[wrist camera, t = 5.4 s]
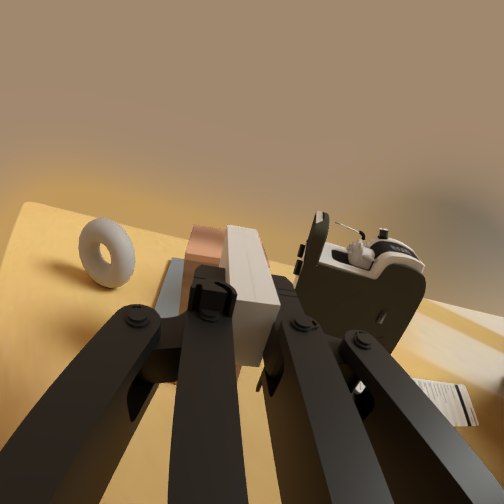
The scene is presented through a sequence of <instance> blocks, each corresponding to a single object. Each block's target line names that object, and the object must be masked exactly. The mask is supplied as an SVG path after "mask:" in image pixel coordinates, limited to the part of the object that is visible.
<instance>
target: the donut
mask: <svg viewBox="0 0 504 504" xmlns="http://www.w3.org/2000/svg"><path fill="white" fill-rule="evenodd" d="M100 243H102V244H104V245H105V246H106V247H107V249H108V250H109V252H110V255H111V264H109V263H107V262H106V261H105V260H104V258H103V257H102V255H101V252H100ZM79 255H80V259H81V262H82V265H83V267H84V268H85V270H86V272H87V273H88V275H89V276H90V277H91V278H92V279H93V280H94V281H95V282H97V283H99V284H100V285H102V286H105V287H108V288H115V287H120V286H122V285H123V284H125V283H126V282H128V280H129V279H130V277H131V276H132V274H133V272H134V266H135V251H134V248H133V245H132V242H131V240H130V238H129V236H128V235H127V233H126V231H125V230H124V229H123V228H122V227H121V226H120V225H119V224H118V223H116V222H114V221H112V220H110V219H104V218H98V219H95V220H92V221H90V222H89V223H88V224H87V225H86V226H85V227H84V228H83V230H82V232H81V235H80V237H79Z"/></svg>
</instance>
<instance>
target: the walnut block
mask: <svg viewBox="0 0 504 504" xmlns="http://www.w3.org/2000/svg"><path fill="white" fill-rule="evenodd" d="M225 234H226V230H224V229H218V228H212V227H205V226H200V225H194V226H193V229H192V232H191V235H190V239H189V242H188V245H187V249H186V252H185V259H184V267H183V276H182V286H181V296H180V307H179V315H181V314H182V313H184V312H185V311H186V310H187V308H188V300H189V293H190V287H191V285H192V283H193V278H194V272H195V269H196V268H197V267H198V266H200V265H201V264H203V265H209V266H215V267H219V263H220V258H221V253H222V248H223V243H224V238H225ZM258 236H259V235H258ZM259 239H260V242H261V245H262V248H263V251H264V254H265V257H266V260H267V264H268V267H270V265H269V262H268V259H267V256H266V253H265V250H264V247H263V244H262V241H261V238H260V236H259ZM235 367H236V379H237V380H238V377H239V373H240V370H241V367H242V366H241V365H235ZM175 385H177V381H175Z"/></svg>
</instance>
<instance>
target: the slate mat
mask: <svg viewBox="0 0 504 504" xmlns="http://www.w3.org/2000/svg"><path fill="white" fill-rule="evenodd" d="M183 267H184V259H180V258H173V257H172V260H171V263H170V266H169V268H168V271H167V274H166V277H165V280H164V282H163V285H162V288H161V291H160V294H159V297H158V300H157V303H156V306H155V309H154V310H156V312H157V313H158V314H159V315H160V318H169V317H175V316H178V315H179V307H180V296H181V286H182V276H183Z"/></svg>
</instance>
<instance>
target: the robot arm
mask: <svg viewBox="0 0 504 504" xmlns="http://www.w3.org/2000/svg"><path fill="white" fill-rule="evenodd" d="M297 297H298V296H297V294H296V292H295V289H294V287H293V284H292V283H291V282H290V281H289V280H288V279H287V278H286V277H284V276H278V275H271V273H270V270H269V267H268V264H267V260H266V257H265V254H264V251H263V248H262V245H261V242H260V239H259V236H258V233H257V230H255V229H250V228H244V227H239V226H233V225H227V229H226V234H225V238H224V243H223V248H222V253H221V258H220V263H219V267H215V266H209V265H203V264H201V265H200V266H198V267H197V268H196V269H195V272H194V278H193V283H192V285H191V287H190V293H189V300H188V308H187V310H186V311H185V312H184V313H182V314H181V315H178V316H175V317H169V318H160V315H159V314H158V313H157V312H156V310H154V309H152V308H150V307H148V306H145V305H140V304H133V305H128V306H124V307H122V308H121V309H119V310H118V311H117V312H116V313H115V314H114V315H113V316H112V317H111V318H110V319H109V320H108V321H107V322H106V324H105V325H104V326H103V327H102V328H101V329H100V330H99V331H98V332H97V333H96V334H95V336H94V337H93V338H92V339H91V340H90V341H89V342H88V343H87V344H86V345H85V347H84V348H83V349H82V350H81V351H80V352H79V353H78V355H77V356H76V357H75V358H74V359H73V360H72V361H71V363H70V364H69V365H68V366H67V367H66V368H65V370H64V371H63V372H62V373H61V374H60V375H59V377H58V378H57V379H56V380H55V381H54V383H53V384H52V385H51V386H50V387H49V389H48V390H47V391H46V392H45V393H44V395H43V396H42V397H41V398H40V400H39V401H38V402H37V403H36V405H35V406H34V407H33V408H32V410H31V411H30V412H29V414H28V415H27V416H26V417H25V419H24V420H23V421H22V423H21V424H20V425H19V427H18V428H17V429H16V431H15V432H14V433H13V435H12V436H11V437H10V439H9V440H8V442H7V443H6V444H5V446H4V447H3V449H2V450H1V451H0V504H99V503H100V501H101V498H102V496H103V494H104V492H105V490H106V488H107V486H108V484H109V482H110V480H111V478H112V476H113V474H114V472H115V470H116V468H117V466H118V464H119V462H120V460H121V458H122V456H123V454H124V452H125V450H126V448H127V446H128V444H129V442H130V440H131V438H132V436H133V434H134V432H135V430H136V428H137V426H138V424H139V423H140V421H141V419H142V417H143V415H144V413H145V411H146V409H147V407H148V405H149V403H150V401H151V399H152V398H153V396H154V394H155V392H156V390H157V388H158V386H159V383H166V382H175V381H177V388H176V396H175V406H174V415H173V426H172V437H171V450H170V464H169V481H168V504H249V503H248V495H247V486H246V477H245V467H244V457H243V447H242V437H241V426H240V415H239V404H238V392H237V379H236V367H235V365H241V366H253V367H259V366H260V363H261V360H262V357H263V359H264V365H265V366H264V369H263V371H262V374H261V376H260V379H259V381H258V384H257V387H256V392H259V390H260V388H261V386H262V387H263V393H264V400H265V406H266V412H267V418H268V424H269V431H270V437H271V443H272V449H273V455H274V461H275V467H276V473H277V479H278V485H279V490H280V496H281V502H282V504H504V489H503V488H502V486H501V485H500V484H499V483H498V481H497V480H496V479H495V477H494V476H493V475H492V474H491V472H490V471H489V470H488V468H487V467H486V466H485V465H484V463H483V462H482V461H481V460H480V458H479V457H478V456H477V455H476V453H475V452H474V451H473V450H472V448H471V447H470V446H469V445H468V444H467V442H466V441H465V440H464V439H463V437H462V436H461V435H460V434H459V433H458V431H457V430H456V429H455V428H454V427H453V426H452V424H451V423H450V422H449V421H448V420H447V418H446V417H445V416H444V415H443V414H442V413H441V411H440V410H439V409H438V408H437V407H436V406H435V404H434V403H433V402H432V401H431V400H430V399H429V398H428V396H427V395H426V394H425V393H424V392H423V391H422V390H421V388H420V387H419V386H418V385H417V384H416V383H415V382H414V380H413V379H412V378H411V377H410V376H409V375H408V374H407V373H406V372H405V370H404V369H403V368H402V367H401V366H400V365H399V364H398V363H397V362H396V360H395V359H394V358H393V357H392V356H391V355H390V354H389V353H388V352H387V351H386V349H385V348H384V347H383V346H382V345H381V344H380V343H379V342H378V341H377V340H376V339H375V338H374V337H373V336H372V335H370V334H368V333H367V332H365V331H362V330H350V331H347V332H346V334H345V335H344V337H343V339H340V338H337V337H333V336H330V335H327V334H324V332H323V330H322V328H321V326H320V325H319V323H318V322H317V321H316V320H314V319H313V318H312V317H310V316H307V315H305V313H304V310H303V308H302V306H301V303H300V301H299V298H297ZM360 381H361V382H362V383H363V384H364V386H365V388H364V390H363V391H362V392H361V393H360V392H358V391H357V390H356V389H355V388H356V387H357V385H358V384H359V383H360Z"/></svg>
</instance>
